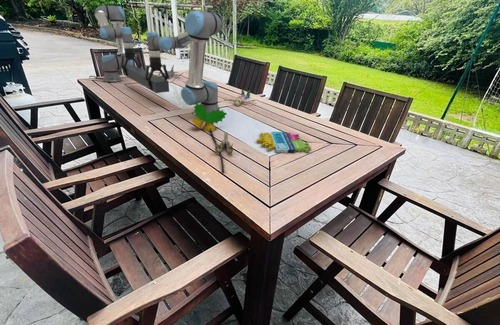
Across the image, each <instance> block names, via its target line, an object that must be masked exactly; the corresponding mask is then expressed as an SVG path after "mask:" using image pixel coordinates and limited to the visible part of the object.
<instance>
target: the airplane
mask: <svg viewBox="0 0 500 325" xmlns="http://www.w3.org/2000/svg"><path fill="white" fill-rule="evenodd" d="M174 67H175V66H174V64H173V65H172V67H171V69H170V70H167V72H168V75H169V78H168V79H167V80H170V79H171V78H173V77H174V78H177V77H178V76H181V74H179V73H180V72H179V71H174ZM154 73H156V74H157V76H158V77H160V78H162V79H164V77H163V76H162V74H161V73H160V71H154ZM163 73H164V75H165V76H166V74H165V72H163Z"/></svg>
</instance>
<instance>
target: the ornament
mask: <svg viewBox="0 0 500 325" xmlns="http://www.w3.org/2000/svg"><path fill="white" fill-rule="evenodd" d="M219 110H220V109H217V110H216V111H214V110H212V112H211V113H208V112H206V109H204V106H201V103H199V104H198V103H197V102H196V105H193V112H194V113H195V118H192V119H191V122H192V123H193V125H195V127H197V128H198V129H202V130H203V131H206V132H210V129H211V131H213V132H214V131H215V130H216V126H215V124H218V123H219V122H223V119H226V115H227V114H228V113H227V112H224V110H223V109H221V110H220V111H219ZM207 113H208V115H207ZM214 123H215V124H214Z"/></svg>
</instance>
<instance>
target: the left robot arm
mask: <svg viewBox="0 0 500 325" xmlns="http://www.w3.org/2000/svg"><path fill="white" fill-rule="evenodd" d="M94 17H95V19H96V21H98V24H99V27H100V28H99V35H100V38H101V39H114V40H115V43H116V47H117V48H116V49H117V53H116V55H115V54H106V55H103V56H101V63H102V67H103V77H98V76H95V75H89V76H88V78H89V79H90V78H95V80H98V79H99V80H102V79H103V82H105V83H119V82H121V81H122V78H121V76H120V73H119V70H122V71H123V73H124V72H125V75H126V76H125V75H124V76H125V77H127V69H126V68H125V67H126V66H134V63H135V66H136V67H139V68H141V67H143V64H142V62H141V60H140V55H139V54H138V53H137V54H136V53H135V49H134V48H135V47H134V41H133V32H132V28H131V27H130V26H124V24H125V22H126V13H125V11H124V9H123V7H121V6H119V5H106V4H101V5H99V6H97V7H96V8H95V10H94ZM109 21H110V23H111V24H110V23H109ZM111 25H112V26H111Z"/></svg>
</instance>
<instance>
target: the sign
mask: <svg viewBox="0 0 500 325" xmlns="http://www.w3.org/2000/svg"><path fill="white" fill-rule="evenodd" d="M299 136H300V135H299V134H298V133H296V134H294V133H291V132H287V131H270V132H264V133H263V132H260V133H259V139H258V138H257V139H256V143H257V144H261V148H263V147H264V148H265V149H267V151H268V152H271V151H272V150H273V149H275V152H276V153H283V154H285V153H287V154H288V153H290V154H293V153H296V152H298V153H301V152H305V153H310V151H311V150H312V149H311V148H312V146H309V142H304V141H303V139H302V138H299Z"/></svg>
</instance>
